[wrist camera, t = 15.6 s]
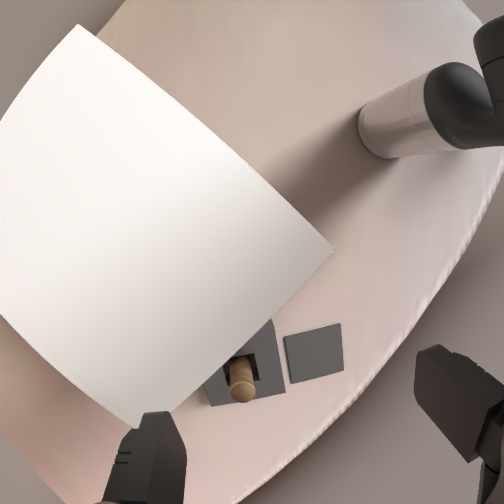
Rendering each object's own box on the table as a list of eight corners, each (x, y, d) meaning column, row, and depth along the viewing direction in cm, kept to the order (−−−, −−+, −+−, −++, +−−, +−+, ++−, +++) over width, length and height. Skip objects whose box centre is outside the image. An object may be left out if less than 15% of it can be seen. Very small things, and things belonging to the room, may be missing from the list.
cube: (276, 217, 44) (335, 250, 21) (177, 323, 46) (144, 435, 22) (147, 101, 40) (77, 23, 16) (58, 213, 41) (-56, 240, 17)
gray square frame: (271, 318, 47) (274, 326, 44) (282, 382, 49) (285, 392, 46) (192, 333, 46) (190, 342, 43) (211, 395, 49) (211, 406, 46)
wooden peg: (247, 349, 48) (253, 381, 39) (251, 366, 48) (257, 400, 39) (226, 353, 47) (227, 386, 39) (231, 370, 48) (233, 404, 39)
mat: (339, 323, 48) (340, 324, 48) (343, 369, 50) (343, 370, 49) (284, 336, 48) (284, 337, 47) (291, 382, 49) (292, 383, 49)
